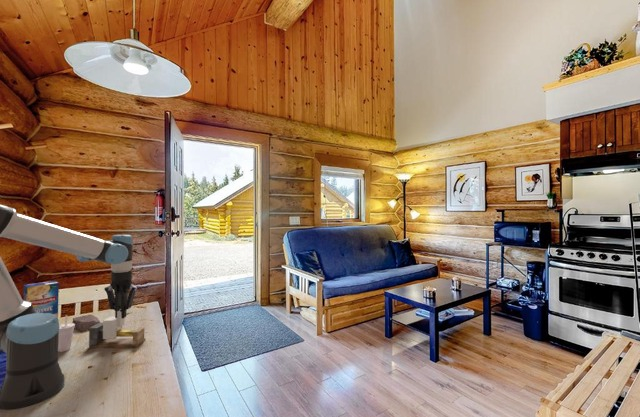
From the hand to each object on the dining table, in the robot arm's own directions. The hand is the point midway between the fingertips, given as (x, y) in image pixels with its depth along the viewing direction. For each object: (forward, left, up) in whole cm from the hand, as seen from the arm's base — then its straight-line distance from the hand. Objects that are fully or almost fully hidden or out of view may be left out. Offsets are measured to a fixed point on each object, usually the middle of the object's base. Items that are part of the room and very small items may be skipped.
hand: (120, 325), depth 126 cm
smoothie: (-5, +19, -8) cm, 21 cm away
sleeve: (0, +3, -5) cm, 6 cm away
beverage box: (+15, +46, -8) cm, 49 cm away
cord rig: (0, +1, -8) cm, 8 cm away
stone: (+20, +28, -8) cm, 35 cm away
